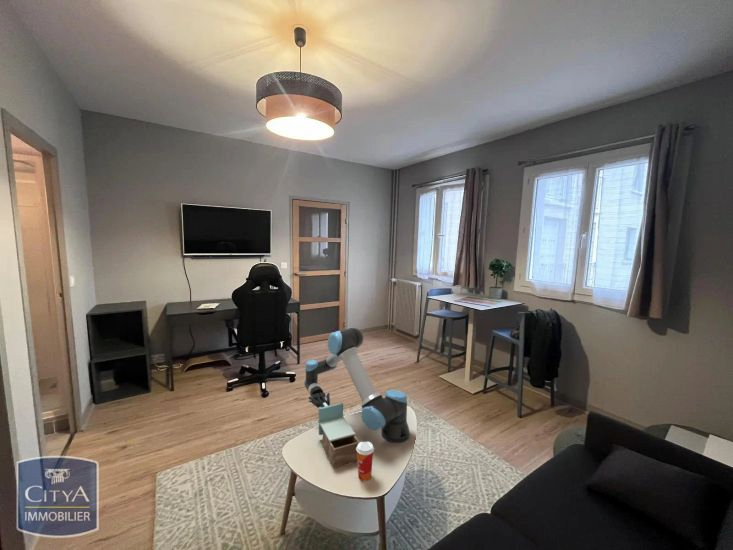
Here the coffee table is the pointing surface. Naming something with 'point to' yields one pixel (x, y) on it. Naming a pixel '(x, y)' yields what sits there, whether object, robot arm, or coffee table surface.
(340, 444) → the walnut box
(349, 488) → the coffee table surface
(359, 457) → the pill bottle
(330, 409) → the teal l-shaped piece
